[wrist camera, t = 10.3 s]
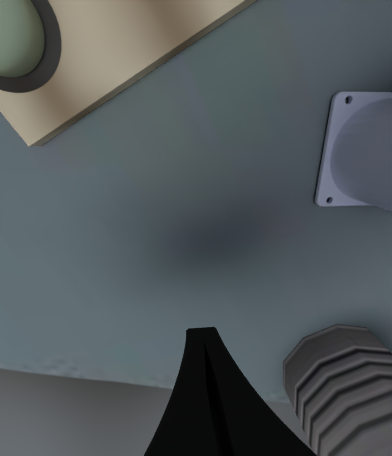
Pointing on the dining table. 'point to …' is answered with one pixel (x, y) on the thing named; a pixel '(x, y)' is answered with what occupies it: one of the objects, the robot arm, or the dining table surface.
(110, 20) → the button panel
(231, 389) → the robot arm
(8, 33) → the sage button
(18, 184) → the dining table surface
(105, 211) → the dining table surface
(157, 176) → the dining table surface
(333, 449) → the can
